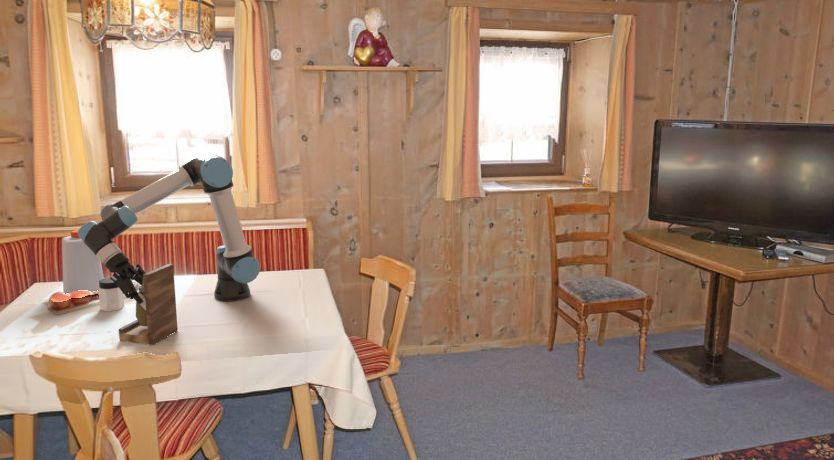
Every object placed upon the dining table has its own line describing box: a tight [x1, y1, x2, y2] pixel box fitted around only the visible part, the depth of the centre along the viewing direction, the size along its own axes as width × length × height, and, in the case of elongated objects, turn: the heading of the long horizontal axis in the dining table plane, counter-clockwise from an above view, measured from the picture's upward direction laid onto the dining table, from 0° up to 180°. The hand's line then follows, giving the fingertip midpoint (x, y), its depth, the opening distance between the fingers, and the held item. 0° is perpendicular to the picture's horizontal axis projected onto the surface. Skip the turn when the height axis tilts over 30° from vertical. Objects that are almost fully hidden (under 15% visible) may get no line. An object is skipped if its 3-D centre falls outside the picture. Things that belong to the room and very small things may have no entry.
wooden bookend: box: [118, 263, 179, 346], centre depth 222 cm, size 14×14×26 cm
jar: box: [98, 277, 125, 312], centre depth 251 cm, size 9×8×12 cm
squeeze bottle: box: [135, 277, 147, 326], centre depth 222 cm, size 8×8×18 cm
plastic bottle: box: [61, 229, 105, 294], centre depth 268 cm, size 15×15×28 cm
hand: (155, 305), depth 222 cm, fingers closed on squeeze bottle, 6 cm apart
